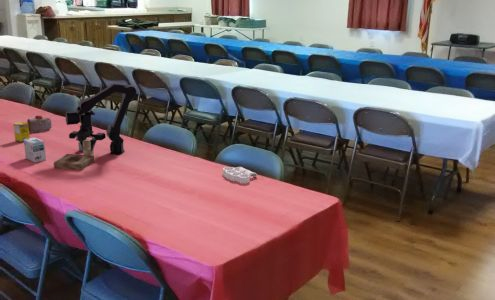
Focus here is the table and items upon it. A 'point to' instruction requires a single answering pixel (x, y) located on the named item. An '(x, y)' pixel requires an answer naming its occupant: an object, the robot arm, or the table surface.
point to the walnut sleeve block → (74, 161)
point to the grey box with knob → (39, 124)
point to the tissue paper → (238, 174)
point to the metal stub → (80, 147)
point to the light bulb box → (34, 149)
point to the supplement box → (21, 131)
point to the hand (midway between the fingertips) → (88, 150)
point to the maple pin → (87, 147)
